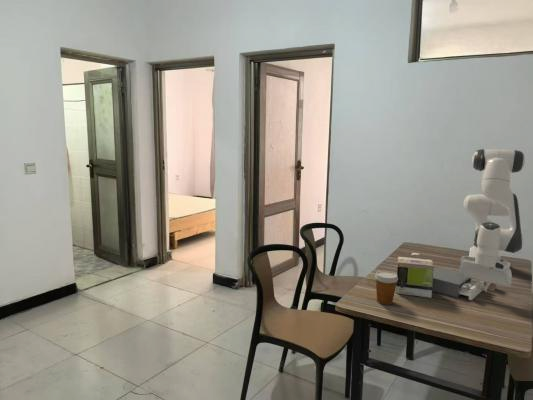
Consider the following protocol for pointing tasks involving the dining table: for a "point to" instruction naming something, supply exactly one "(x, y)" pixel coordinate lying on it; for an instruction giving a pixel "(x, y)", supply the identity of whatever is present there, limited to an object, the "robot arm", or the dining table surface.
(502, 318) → the dining table surface
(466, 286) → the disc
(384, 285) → the disposable coffee cup
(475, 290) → the cream drawer
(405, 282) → the tea box
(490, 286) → the wooden block
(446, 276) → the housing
